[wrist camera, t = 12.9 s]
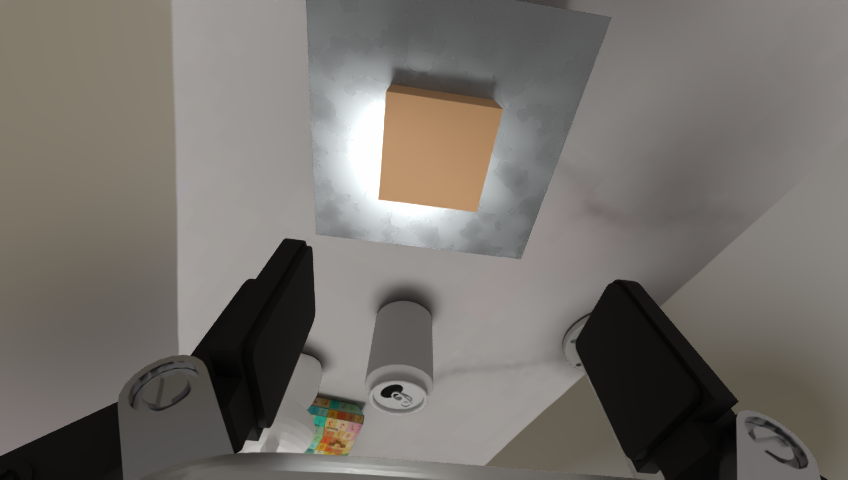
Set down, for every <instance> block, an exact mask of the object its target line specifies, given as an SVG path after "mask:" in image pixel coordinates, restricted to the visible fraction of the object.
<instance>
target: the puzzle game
mask: <svg viewBox="0 0 848 480" xmlns="http://www.w3.org/2000/svg"><path fill="white" fill-rule="evenodd" d="M307 411H308V412H309V413H310V415H311V417H312V419H313V421H314V425H315V434H314V438H313V440H312V442H311V444H310V446H309V447H308V448H307V450H306V451H305V452H304V453H308V454H325V455H343V456H347V455H348V453H349V451H350V449H351V447H352V445H353V443H354V441H355V439H356V437H357V435H358V433H359V431H360V429H361V427H362V425H363V421H364V415H363V413H362V411H361V410H360V408H359V407H358V405H354V404H349V403H344V402H339V401H334V400H329V399H324V398H319V397H316V398H315V400H314V401H313V403H312V404H311V406H310V407H309V408H308V409H307Z"/></svg>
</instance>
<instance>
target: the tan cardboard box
mask: <svg viewBox="0 0 848 480" xmlns="http://www.w3.org/2000/svg"><path fill="white" fill-rule="evenodd" d="M502 113H503V108H502V107H501V106H500V105H499V104H498V103H497V102H496V101H495V100H490V99H484V98H477V97H471V96H465V95H458V94H452V93H445V92H439V91H432V90H426V89H419V88H413V87H406V86H400V85H393V84H391V85H390V86H389V88H388V89H387V91H386V100H385V114H384V128H383V142H382V156H381V170H380V183H379V197H378V200H385V201H393V202H400V203H408V204H416V205H424V206H431V207H439V208H447V209H455V210H462V211H470V212H477V210H478V206H479V202H480V198H481V194H482V190H483V186H484V183H485V179H486V175H487V171H488V167H489V163H490V159H491V155H492V152H493V148H494V144H495V140H496V136H497V132H498V128H499V124H500V121H501V117H502Z"/></svg>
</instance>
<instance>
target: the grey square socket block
mask: <svg viewBox="0 0 848 480" xmlns="http://www.w3.org/2000/svg"><path fill="white" fill-rule="evenodd" d="M306 9H307V33H308V56H309V80H310V103H311V127H312V150H313V174H314V197H315V221H316V234H317V235H325V236H334V237H342V238H350V239H358V240H367V241H375V242H383V243H391V244H400V245H408V246H416V247H424V248H433V249H441V250H449V251H457V252H466V253H474V254H482V255H490V256H499V257H507V258H515V259H521V257H522V255H523V252H524V249H525V247H526V244H527V241H528V239H529V236H530V233H531V231H532V228H533V225H534V223H535V220H536V217H537V215H538V212H539V209H540V207H541V204H542V201H543V199H544V196H545V193H546V191H547V188H548V185H549V183H550V180H551V177H552V175H553V172H554V169H555V167H556V164H557V161H558V159H559V156H560V153H561V151H562V148H563V145H564V143H565V140H566V137H567V135H568V132H569V129H570V127H571V124H572V121H573V119H574V116H575V113H576V111H577V108H578V105H579V103H580V100H581V97H582V95H583V92H584V89H585V87H586V84H587V81H588V79H589V76H590V73H591V71H592V68H593V65H594V63H595V60H596V57H597V55H598V52H599V49H600V47H601V44H602V41H603V39H604V36H605V33H606V31H607V28H608V25H609V23H610V20H611V17H607V16H601V15H596V14H590V13H585V12H579V11H573V10H568V9H562V8H557V7H551V6H546V5H540V4H535V3H529V2H524V1H518V0H306ZM391 84H393V85H400V86H406V87H413V88H419V89H426V90H432V91H439V92H445V93H452V94H458V95H465V96H471V97H477V98H484V99H490V100H495V101H496V102H497V103H498V104H499V105H500V106H501V107H502V108H503V113H502V117H501V121H500V124H499V128H498V132H497V136H496V140H495V144H494V148H493V152H492V155H491V159H490V163H489V167H488V171H487V175H486V179H485V183H484V186H483V190H482V194H481V198H480V202H479V206H478V210H477V212H470V211H462V210H455V209H447V208H439V207H431V206H424V205H416V204H408V203H400V202H393V201H385V200H378V197H379V183H380V170H381V156H382V142H383V128H384V114H385V100H386V91H387V89H388V88H389V86H390V85H391Z"/></svg>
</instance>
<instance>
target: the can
mask: <svg viewBox="0 0 848 480" xmlns="http://www.w3.org/2000/svg"><path fill="white" fill-rule="evenodd" d="M365 386H366V390H367V391H368V393H369V401H370V402H371V404H372V405H373V406H374V407H375V408H376V409H378V410H379V411H381V412H384V413H387V414H392V415H408V414H412V413H415V412H417V411H419V410H421V409H422V408H423V407H425V405H426V403H427V402H428V397H429V396H430V394H431V392H432V391H433V346H432V318H431V315H430V313H429V312H428V311H427V310H426V309H425V308H424V307H423V306H421V305H419V304H417V303H414V302H410V301H397V302H393V303H389V304H388V305H386V306H384V307H383V308H382V309H381V310H380V311H379V312H378V314H377V317H376V322H375V328H374V333H373V339H372V345H371V351H370V356H369V362H368V368H367V374H366V379H365Z"/></svg>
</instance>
